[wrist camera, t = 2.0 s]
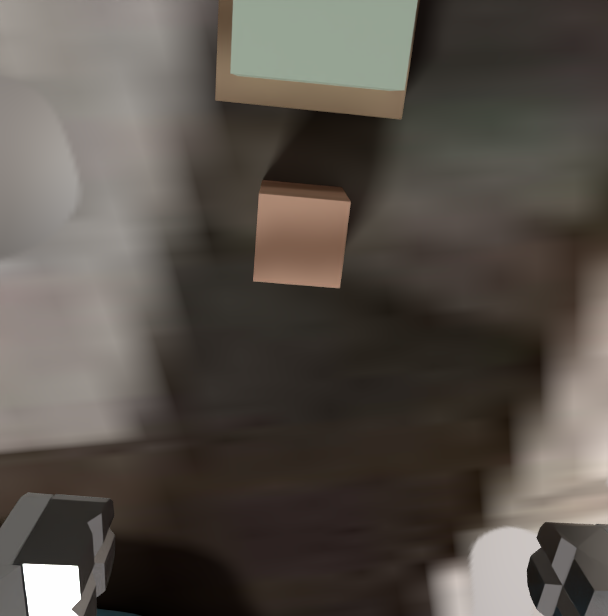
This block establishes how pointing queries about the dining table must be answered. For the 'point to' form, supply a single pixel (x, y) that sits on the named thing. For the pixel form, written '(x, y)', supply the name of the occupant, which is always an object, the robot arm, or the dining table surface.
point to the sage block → (324, 41)
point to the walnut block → (298, 85)
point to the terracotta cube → (301, 234)
